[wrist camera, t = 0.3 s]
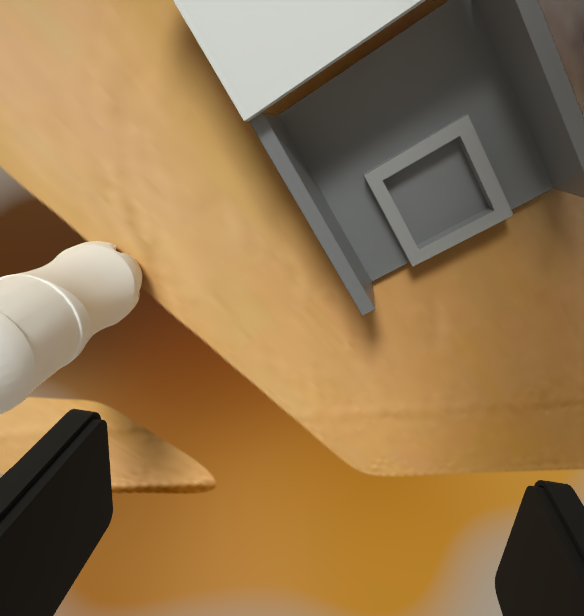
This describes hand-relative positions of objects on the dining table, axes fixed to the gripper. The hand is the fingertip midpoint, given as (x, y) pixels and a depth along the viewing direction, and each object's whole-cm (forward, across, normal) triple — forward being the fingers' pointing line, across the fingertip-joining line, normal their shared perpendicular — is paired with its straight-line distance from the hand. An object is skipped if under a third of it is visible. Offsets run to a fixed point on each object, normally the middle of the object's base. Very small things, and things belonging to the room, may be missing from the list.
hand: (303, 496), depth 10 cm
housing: (+30, -5, -7) cm, 31 cm away
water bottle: (+30, +20, +6) cm, 37 cm away
